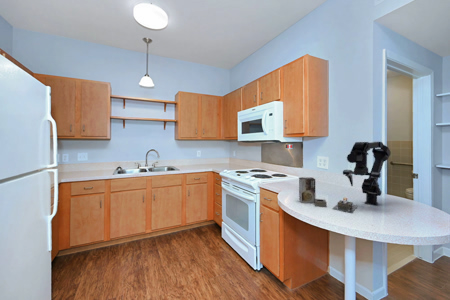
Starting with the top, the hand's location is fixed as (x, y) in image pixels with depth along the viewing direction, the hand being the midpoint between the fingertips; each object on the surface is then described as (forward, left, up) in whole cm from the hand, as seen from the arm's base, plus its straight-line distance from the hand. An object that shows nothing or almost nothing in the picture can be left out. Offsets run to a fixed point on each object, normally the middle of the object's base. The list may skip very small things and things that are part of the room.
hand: (360, 187), depth 119 cm
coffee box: (+13, -28, -12) cm, 33 cm away
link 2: (+11, -6, -11) cm, 17 cm away
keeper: (+11, -6, -12) cm, 17 cm away
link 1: (+15, -19, -12) cm, 27 cm away
